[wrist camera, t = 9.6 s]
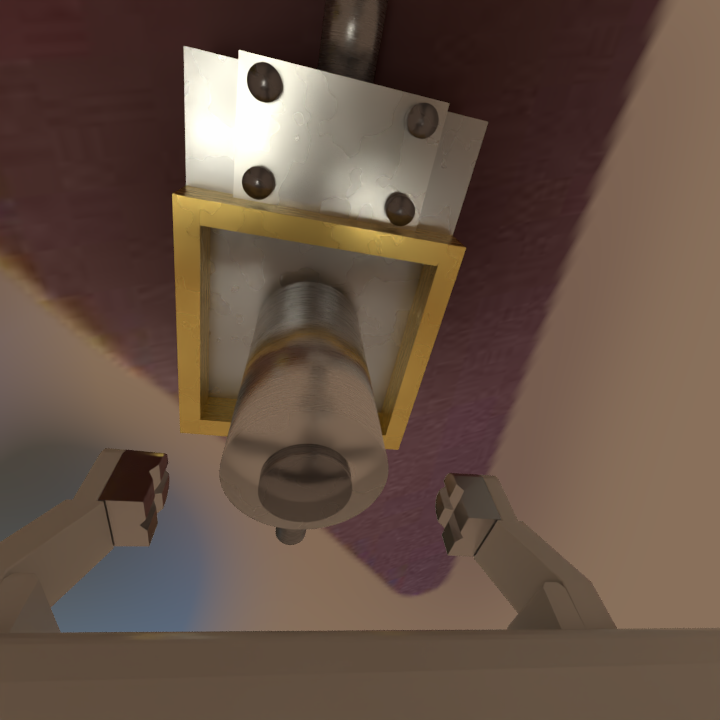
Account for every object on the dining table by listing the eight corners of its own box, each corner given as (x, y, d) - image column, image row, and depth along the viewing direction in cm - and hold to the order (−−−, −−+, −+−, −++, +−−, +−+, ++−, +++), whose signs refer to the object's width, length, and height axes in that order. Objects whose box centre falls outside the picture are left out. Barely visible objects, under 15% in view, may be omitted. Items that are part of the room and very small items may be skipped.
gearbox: (208, -67, 16) (161, -147, 11) (487, 18, 18) (555, -17, 13) (205, 379, 27) (180, 443, 22) (380, 397, 29) (395, 458, 24)
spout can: (261, 273, 19) (217, 417, 10) (367, 290, 20) (411, 434, 11) (251, 397, 23) (212, 581, 14) (341, 406, 24) (358, 584, 15)
